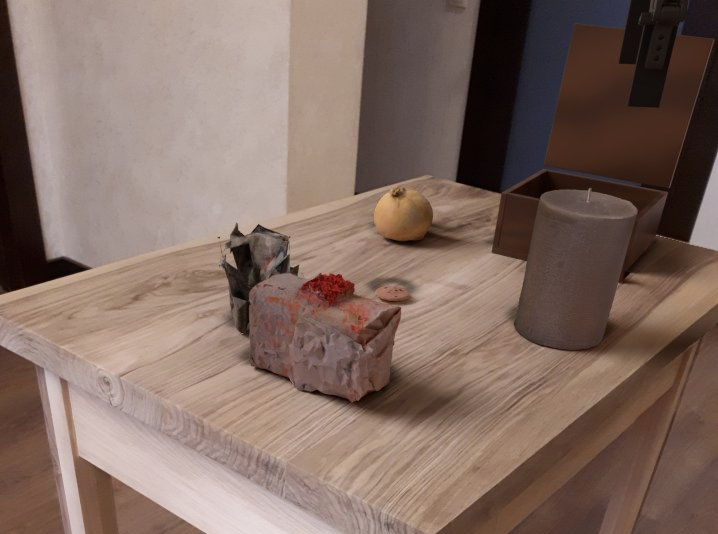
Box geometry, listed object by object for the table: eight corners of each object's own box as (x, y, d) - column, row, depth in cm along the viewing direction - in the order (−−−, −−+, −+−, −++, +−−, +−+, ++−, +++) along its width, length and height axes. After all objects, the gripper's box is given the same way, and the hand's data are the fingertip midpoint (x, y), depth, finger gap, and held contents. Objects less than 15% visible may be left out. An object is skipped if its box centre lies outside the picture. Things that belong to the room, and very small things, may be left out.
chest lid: (713, 38, 97) (714, 39, 98) (574, 23, 104) (576, 23, 105) (668, 188, 107) (669, 188, 107) (543, 165, 113) (545, 165, 114)
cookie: (407, 305, 90) (408, 296, 89) (371, 300, 90) (372, 292, 90) (411, 292, 93) (412, 284, 92) (377, 288, 93) (378, 280, 93)
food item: (405, 384, 74) (416, 282, 69) (361, 418, 69) (370, 311, 63) (285, 344, 80) (287, 247, 74) (236, 373, 74) (234, 270, 68)
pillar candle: (496, 320, 88) (521, 179, 79) (564, 309, 92) (596, 173, 83) (552, 357, 81) (587, 206, 72) (623, 343, 85) (665, 198, 76)
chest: (621, 283, 100) (638, 220, 95) (491, 252, 107) (501, 192, 102) (651, 249, 112) (668, 191, 107) (532, 223, 118) (543, 168, 114)
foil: (177, 299, 79) (231, 185, 84) (213, 360, 89) (259, 254, 94) (283, 317, 76) (333, 197, 81) (309, 378, 85) (352, 267, 90)
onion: (382, 225, 113) (387, 173, 109) (436, 234, 111) (443, 182, 107) (364, 241, 107) (369, 187, 103) (421, 251, 105) (428, 196, 101)
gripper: (639, -218, 71) (592, 47, 86) (668, -207, 53) (602, 125, 68) (727, -219, 70) (664, 49, 85) (786, -209, 52) (694, 129, 67)
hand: (637, 83), depth 76 cm, fingers open, 13 cm apart
